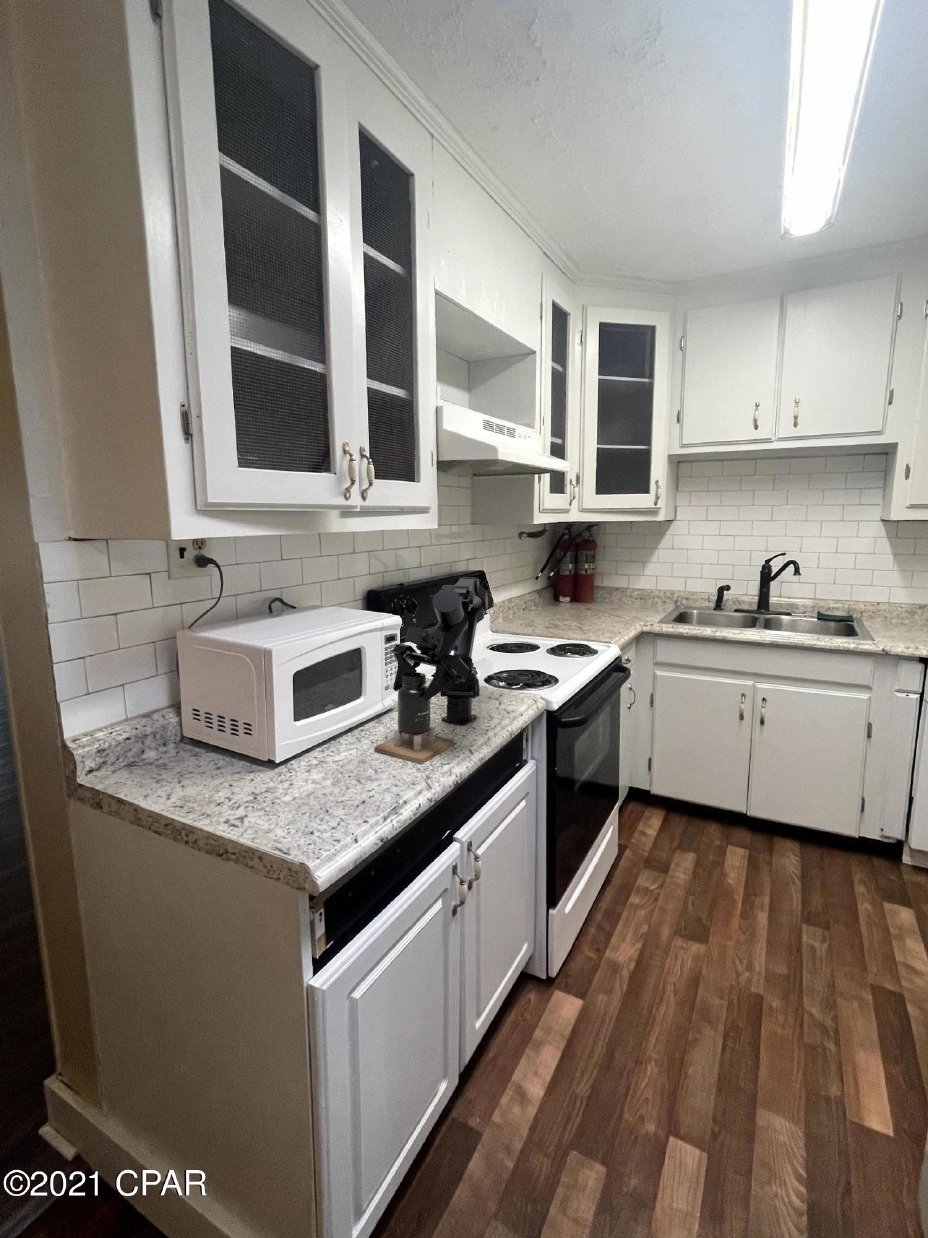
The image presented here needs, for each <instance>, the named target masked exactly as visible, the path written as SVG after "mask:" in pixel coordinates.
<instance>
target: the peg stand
mask: <svg viewBox="0 0 928 1238" xmlns="http://www.w3.org/2000/svg"><path fill="white" fill-rule="evenodd" d="M454 742H455V741H454V739H450V738H447V737H443V736H439V735H438V736H437V735H436V730H435V727H431V726H430V729H429V730H428V731H427V732H426V733H423V734H417V735H409V734H404V733H402V732H400V731H399V729H396V730H394V731H393V737H391V738H390V739H388V740H385V741H384V742H382V743H380V744H378V745H376V746H374V752H375V753H379V754H382V755H385V756H389V757H393V758H396V759H401V760H404V761H408V762H412V763H415V762H416V763H415V764H420V765H423V764H425V763H426V762H428V761H429V759H430V760H431V759H432V758H434V757H436V756H438V755H439V754H441V753H442V752H444V751H445V749H446V750H447V749H449V748H450V747H453V746H454V744H455V743H454ZM437 754H438V755H437ZM424 762H425V763H424Z"/></svg>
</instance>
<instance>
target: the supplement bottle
mask: <svg viewBox="0 0 928 1238" xmlns="http://www.w3.org/2000/svg"><path fill="white" fill-rule="evenodd" d="M426 683H427V679H426V674H425V673H423V672H420V671H419V672H418V671H417V672H410V673H405V674H403V681H402V684H403V686H402V687H401V688H400V689H399V690H398V691H397V730H399V731H400V732H402V733H404V734H409V735H417V734H423V733H425V734H427V731H428V730H429V729H430V727H431V698H430V699H429V700H427V701H425V700H424V699H423V696H424V694H425V692H426V690H427V688H428V686H426V685H427V684H426Z"/></svg>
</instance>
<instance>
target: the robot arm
mask: <svg viewBox="0 0 928 1238" xmlns="http://www.w3.org/2000/svg"><path fill="white" fill-rule="evenodd" d="M432 605H433V608H434V612H435V615H436V617H437V621H438V623H437V624H436V626H435V627H429V629H423V628H418V627H415V626H409V627H408V629H407V632H406V635H405V636H406V637H405V639H404V641H405V642H406V643H412V644H414V645H415V648H416V649H415V648H414V647H413V646H412V645H409V644H405V643H400V642H399V643H397V644H395V646H394V647H393V649H392V651H391V653H392V654H393V655H394V658H395V660H396V663H397V668H396V669H397V670H396V674H395V678H394V682H393V687H392V690H393V691H394V692H398V690H399V689H400V688H401V687H402V686H404V685H403V684H402V681H403V674H405V673H410V672H418V670H417V668H419V667H420V666H421V665H422V664H423V665H427V666H431V667H435V670H434V671H435V673H434V676H433V677H432V680H431V681H430V683H429V685H428V686H427V687H428V688H427V690H426V692H425V694H424V696H423V699H424V700H425V701H427V700H429V699H430V700H431V699H432V698H433V697H435V696H436V695H438V694H440V697H441V698H442V697H443V698H444V697H446V715H445V716H443V717H442V718H441V721H443V722H447V723H453V724H457V725H461V726H466V724H469V723H470V722H472V721H474V720H475V719H477V718H478V716H477V715H475V714H472V713H473V712H472V710H473V709H472V706H473V705H472V701H473V700H472V699H476V698H477V697H480V694H481V692H480V691H481V690H480V681H479V680H480V679H479V678H478V675H477V673H476V672H475V665H474V662H473V658H472V655H473V651H474V650H473V649H474V643H475V638H476V631H477V625H478V623H480V622H481V621H483V619H485V615H486V612H487V611H488V608H489V598H488V592H487V589H485V587H483V586H482V584H480V579H479V578H477V577H473V576H471V577H470V576H468V577H467V576H466V577H465V576H463V577H459V578H458V581H457V582H456V583H455V584H454V585H453V584H447V585H446V584H444V585H443V586H442V587H441V589H439V590H438V592H436V594H435V595H434V596H433V598H432ZM417 651H419V652H420V653H418V652H417ZM452 652H453V654H452Z"/></svg>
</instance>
